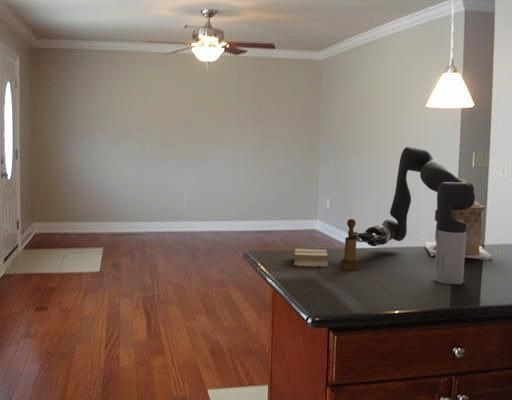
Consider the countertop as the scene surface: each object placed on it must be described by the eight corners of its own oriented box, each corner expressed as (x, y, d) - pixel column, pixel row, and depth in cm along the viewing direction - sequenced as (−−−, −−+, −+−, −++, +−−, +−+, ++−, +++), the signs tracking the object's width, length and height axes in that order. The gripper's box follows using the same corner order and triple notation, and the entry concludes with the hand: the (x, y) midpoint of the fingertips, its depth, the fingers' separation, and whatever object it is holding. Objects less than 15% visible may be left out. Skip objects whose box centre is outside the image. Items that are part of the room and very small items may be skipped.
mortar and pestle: (359, 270, 207) (362, 220, 205) (341, 270, 207) (343, 220, 205) (357, 266, 213) (359, 218, 211) (339, 266, 213) (341, 217, 211)
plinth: (327, 266, 212) (327, 256, 211) (294, 265, 213) (294, 254, 212) (326, 259, 224) (326, 249, 223) (295, 258, 225) (295, 248, 224)
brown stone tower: (493, 261, 228) (499, 180, 224) (428, 257, 233) (433, 177, 229) (482, 249, 252) (487, 175, 249) (423, 245, 257) (427, 173, 253)
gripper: (361, 224, 232) (342, 228, 219) (395, 227, 224) (378, 233, 211) (360, 242, 233) (342, 248, 220) (394, 246, 225) (377, 253, 212)
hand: (359, 240), depth 215 cm, fingers open, 8 cm apart
